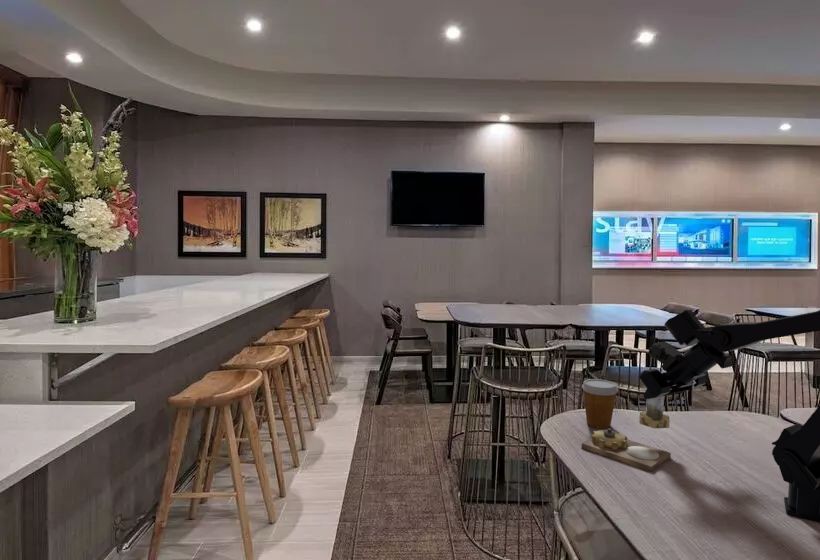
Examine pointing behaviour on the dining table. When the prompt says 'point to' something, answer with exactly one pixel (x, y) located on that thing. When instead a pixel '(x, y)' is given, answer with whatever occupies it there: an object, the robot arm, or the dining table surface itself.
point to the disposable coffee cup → (599, 402)
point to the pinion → (654, 414)
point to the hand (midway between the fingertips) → (649, 396)
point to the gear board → (625, 449)
